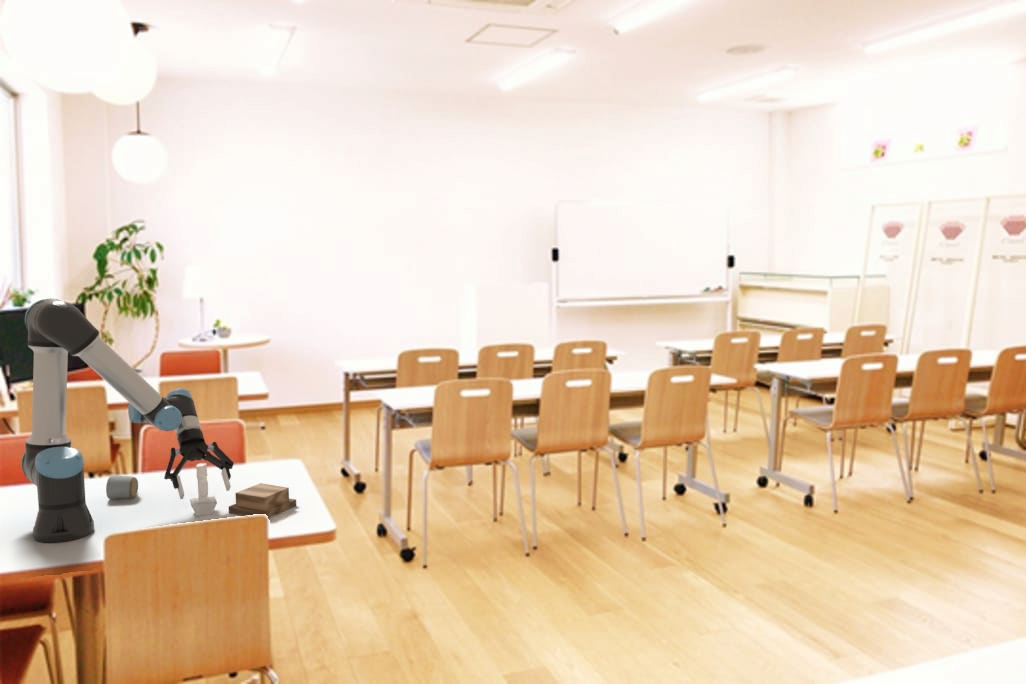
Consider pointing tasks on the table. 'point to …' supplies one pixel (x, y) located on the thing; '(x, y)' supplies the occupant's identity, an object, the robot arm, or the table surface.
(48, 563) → the table surface
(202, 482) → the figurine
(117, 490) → the ceramic mug
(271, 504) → the walnut plinth
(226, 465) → the robot arm
